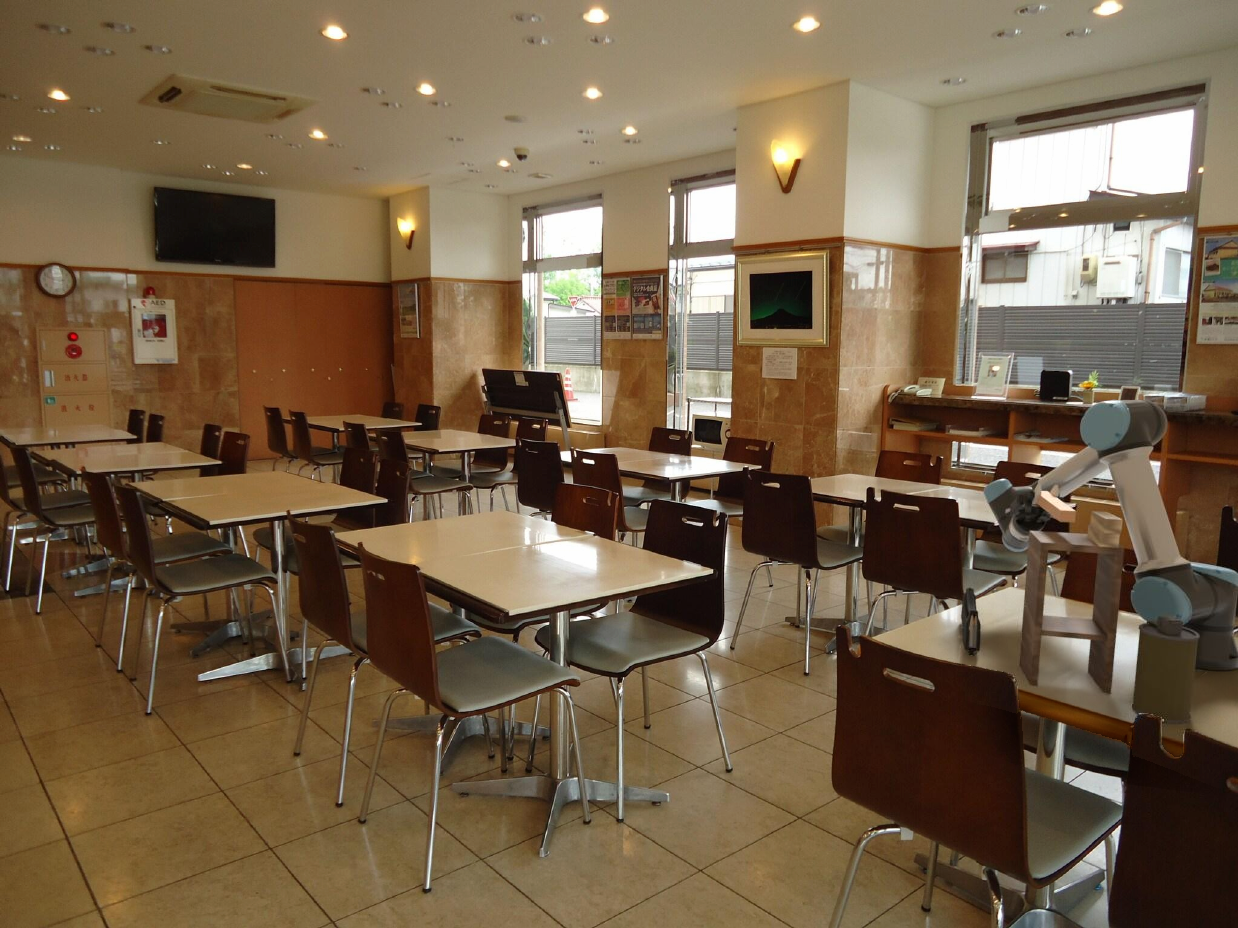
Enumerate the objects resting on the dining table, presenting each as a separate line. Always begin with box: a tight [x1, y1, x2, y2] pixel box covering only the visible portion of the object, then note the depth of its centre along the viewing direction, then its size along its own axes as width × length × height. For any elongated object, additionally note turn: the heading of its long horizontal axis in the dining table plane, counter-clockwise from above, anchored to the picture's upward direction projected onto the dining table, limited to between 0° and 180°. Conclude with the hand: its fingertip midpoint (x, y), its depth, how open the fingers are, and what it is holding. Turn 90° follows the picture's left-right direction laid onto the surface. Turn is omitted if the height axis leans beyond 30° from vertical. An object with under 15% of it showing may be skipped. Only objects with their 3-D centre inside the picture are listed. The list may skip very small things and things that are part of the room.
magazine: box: [960, 587, 982, 656], centre depth 223 cm, size 17×3×30 cm
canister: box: [1131, 616, 1200, 724], centre depth 178 cm, size 11×10×20 cm
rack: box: [1018, 510, 1125, 695], centre depth 195 cm, size 16×14×38 cm
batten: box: [1037, 491, 1077, 523], centre depth 204 cm, size 28×3×2 cm, turn 166°
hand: (1048, 489), depth 210 cm, fingers closed on batten, 3 cm apart
